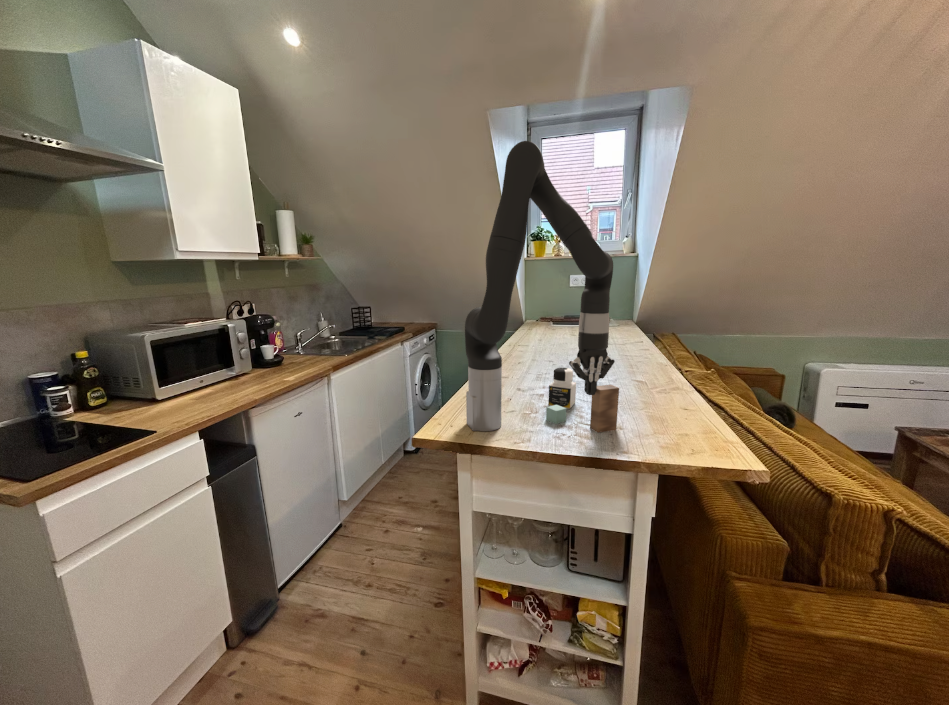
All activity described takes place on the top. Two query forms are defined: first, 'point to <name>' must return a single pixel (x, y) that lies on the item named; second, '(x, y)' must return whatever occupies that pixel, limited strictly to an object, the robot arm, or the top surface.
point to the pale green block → (556, 414)
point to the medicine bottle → (562, 388)
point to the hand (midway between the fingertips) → (590, 394)
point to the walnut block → (604, 408)
